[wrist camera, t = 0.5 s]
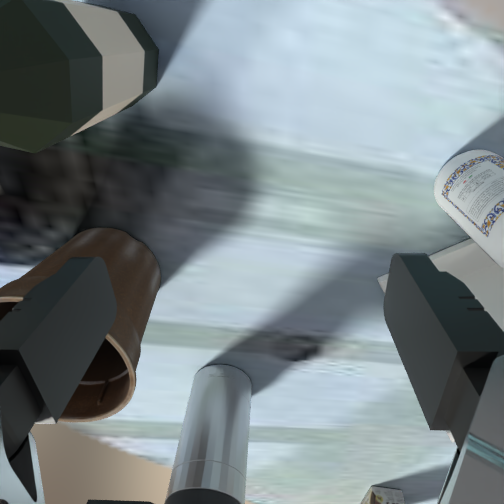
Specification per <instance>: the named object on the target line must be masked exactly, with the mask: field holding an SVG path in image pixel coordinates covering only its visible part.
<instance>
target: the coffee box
mask: <svg viewBox="0 0 504 504" xmlns="http://www.w3.org/2000/svg"><path fill="white" fill-rule="evenodd" d="M361 504H405V500H404V497H403V493H402V490H397V489H389V488H382V487H376V486H372V487H371V488H370V489H369V491H368V493H367V494H366V496H365V497H364V499H363V501H362V502H361Z"/></svg>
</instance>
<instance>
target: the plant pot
mask: <svg viewBox="0 0 504 504" xmlns="http://www.w3.org/2000/svg"><path fill="white" fill-rule="evenodd" d="M72 257H101V258H102V259H103V260H104V262H105V264H106V267H107V271H108V274H109V278H110V281H111V284H112V288H113V291H114V295H115V298H116V303H117V313H116V318H115V321H114V323H113V325H112V327H111V328H110V330H109V332H108V334H107V335H106V337H105V339H104V341H103V343H102V344H101V346H100V348H99V350H98V351H97V353H96V355H95V357H94V358H93V360H92V362H91V364H90V365H89V367H88V369H87V371H86V372H85V374H84V376H83V378H82V379H81V381H80V383H79V385H78V386H77V388H76V390H75V392H74V393H73V395H72V397H71V399H70V400H69V402H68V404H67V406H66V407H65V409H64V411H63V413H62V414H61V416H60V418H59V420H58V421H62V422H92V421H97V420H101V419H104V418H108V417H110V416H112V415H114V414H116V413H118V412H119V411H120V410H122V409H123V408H124V407H125V406H126V405H127V404H128V403H129V401H130V400H131V398H132V396H133V393H134V390H135V386H136V372H135V371H136V368H137V364H138V361H139V358H140V353H141V347H140V344H141V341H142V338H143V335H144V331H145V328H146V325H147V322H148V319H149V316H150V313H151V310H152V307H153V304H154V301H155V298H156V295H157V292H158V289H159V286H160V282H161V273H160V268H159V265H158V262H157V260H156V258H155V256H154V255H153V253H152V252H151V251H150V249H149V248H148V247H147V246H146V245H145V244H144V243H143V242H139V241H137V240H135V239H134V238H132V237H131V236H130V235H129V234H128V233H126V232H124V231H121V230H117V229H113V228H101V227H100V228H92V229H88V230H85V231H83V232H80V233H79V234H77V235H76V236H74V237H73V238H72V239H71V240H70V241H68V242H67V243H66V244H65V245H63V246H62V247H60V248H59V249H58V250H56V251H55V252H54V253H53V254H51V255H50V256H49V257H47V258H46V259H45V260H43V261H42V262H41V263H39V264H38V265H37V266H35V267H34V268H33V269H31V270H30V271H29V272H27V273H26V274H25V275H23V276H22V277H21V278H19V279H17V280H14V281H12V282H10V283H8V284H6V285H4V286H3V287H2V288H0V321H1V320H2V319H3V318H4V317H5V316H6V315H7V313H8V312H12V308H13V307H14V306H15V305H16V304H17V303H18V302H19V301H22V300H23V297H24V296H25V295H26V294H27V293H28V292H29V291H30V290H31V289H32V288H33V287H34V286H35V285H37V284H38V283H40V282H42V281H43V280H45V279H47V278H48V277H50V276H51V275H54V274H55V273H56V272H57V271H58V270H59V269H60V268H61V267H62V266H63V265H64V264H65V263H66V262H67V261H68V260H69V259H70V258H72Z"/></svg>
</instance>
